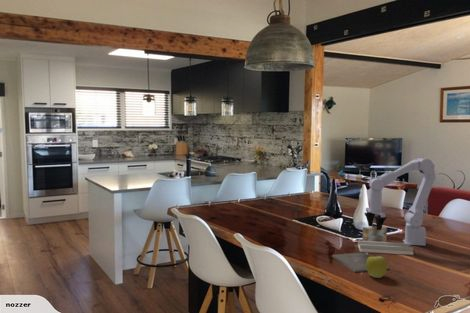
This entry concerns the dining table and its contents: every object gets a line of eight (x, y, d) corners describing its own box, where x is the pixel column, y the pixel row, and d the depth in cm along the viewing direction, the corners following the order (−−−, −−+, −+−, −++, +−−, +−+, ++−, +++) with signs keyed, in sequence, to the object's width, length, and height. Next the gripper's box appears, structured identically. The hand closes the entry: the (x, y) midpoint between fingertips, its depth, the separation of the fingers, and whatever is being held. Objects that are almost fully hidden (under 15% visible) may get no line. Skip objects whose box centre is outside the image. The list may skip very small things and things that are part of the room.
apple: (389, 278, 159) (382, 253, 160) (369, 281, 162) (362, 257, 163) (390, 272, 167) (383, 248, 167) (370, 275, 170) (363, 251, 170)
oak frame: (382, 240, 215) (383, 225, 214) (386, 242, 212) (386, 227, 211) (362, 242, 212) (362, 227, 211) (365, 244, 209) (366, 228, 208)
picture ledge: (408, 248, 201) (408, 242, 201) (413, 254, 192) (413, 248, 191) (357, 245, 206) (358, 239, 206) (360, 251, 196) (360, 245, 196)
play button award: (354, 269, 169) (332, 254, 189) (354, 273, 169) (332, 258, 189) (389, 266, 173) (363, 252, 192) (388, 270, 173) (363, 255, 192)
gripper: (361, 199, 216) (360, 225, 217) (376, 205, 202) (375, 232, 203) (372, 199, 218) (372, 224, 219) (389, 204, 204) (388, 231, 205)
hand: (374, 228), depth 211 cm, fingers open, 7 cm apart
